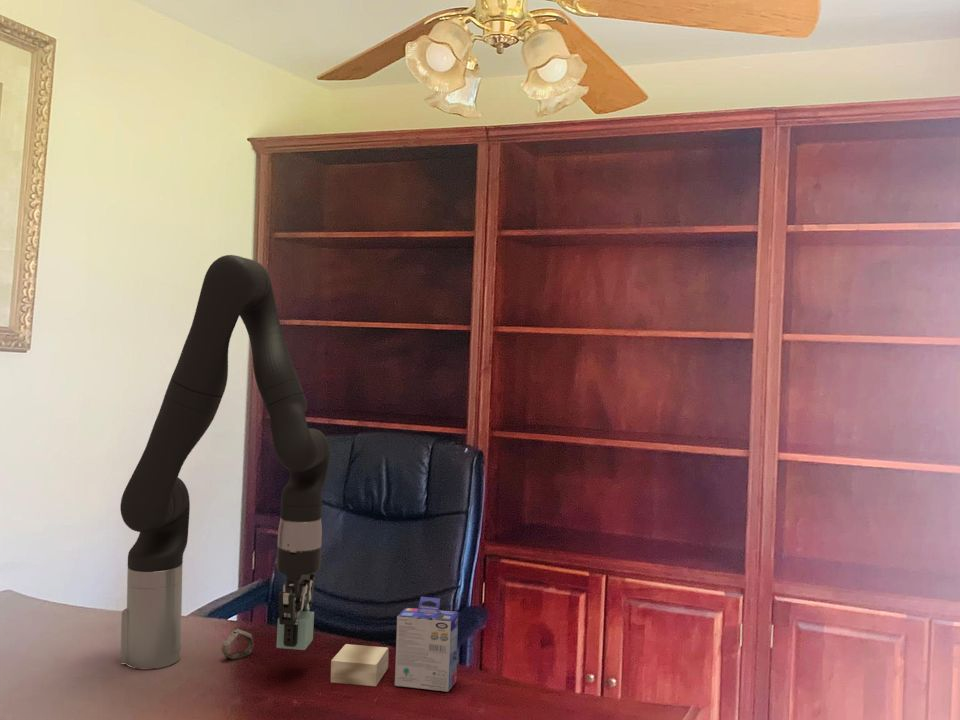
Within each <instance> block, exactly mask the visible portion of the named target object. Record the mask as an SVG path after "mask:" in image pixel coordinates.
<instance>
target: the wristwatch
mask: <svg viewBox="0 0 960 720" xmlns="http://www.w3.org/2000/svg"><path fill="white" fill-rule="evenodd" d="M238 636H240V637H243V638H245V640H246V642H247V643H246V644H247V645H246V646H247V647H246V648H245V650H244V651H242V652H237V651H236V653H229V652H228V651H229V647H230V645H232V643H233V642H234V641H235V640H236V638H237V637H238ZM254 643H255V642H254V637H253V635H252V634H251V633H249V632H247V631H244V630H242V629H239V628H236V629H233V630H232V631H231V633H230V635H229V636H228V638H227V639H226V640H225V641H224V642H223V644H222V647H221V652H222V655H224V656H225V657H226V658H229V659H230V660H238V659H242V658H244V657H247V656H249V655H250V654H251V653H252V651H253V649H254V647H255V645H254Z"/></svg>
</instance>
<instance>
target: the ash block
mask: <svg viewBox="0 0 960 720" xmlns="http://www.w3.org/2000/svg"><path fill="white" fill-rule="evenodd" d="M389 649H390V648H389V647H384V646H376V645H375V646H373V645H361V644H349V643H345V644H344V645H343V646H342V648H341V649H340V650H339V651H338V653H336V654H335V656H334V657H333V658H332V659H331V661H330V683H336V684H347V685H355V686H356V685H357V686H367V687H368V686H369V687H377V685H378V684H379V682H380V681H381V679H382V678H383V677H384V675H385V673H386V672H387V670H388V669H389Z"/></svg>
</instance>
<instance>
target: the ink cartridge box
mask: <svg viewBox="0 0 960 720" xmlns="http://www.w3.org/2000/svg"><path fill="white" fill-rule="evenodd" d="M427 602H432V603H434V604H435V606H432V605H430V606H429V605H423V603H427ZM440 606H441V598H439V597H431V596H430V597H428V596H420V599H419V603H418V607H417V608H413V607H412V608H411V607H406V608H404V609H403V610H402V611H401V612H400V613H399V614H398V615H397V616H396V637H395V638H396V639H395V640H396V641H395V669H394V670H395V671H394V672H395V673H394V686H395V687H402V688H403V687H404V688H411V689H422V690H429V691H438V692H440V691H441V692H446V693H448V692H450V690H451V689H452V688H453V687H454V686H455V684H456V682H457V671H458V669H457V665H458V664H457V663H458V635H459V634H458V632H459V631H458V629H459V625H458V624H459V612H458V611H452V610H450V611H449V610H440Z"/></svg>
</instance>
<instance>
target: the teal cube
mask: <svg viewBox="0 0 960 720" xmlns="http://www.w3.org/2000/svg"><path fill="white" fill-rule="evenodd" d="M288 617H291V615H290V614H289V613H288ZM314 624H315V611H310V610H309V611H301V612H300V614H299V623H298V636H297V645H296V646H295V647H289V646H285V645H284V624H283V625H282V624H280V623H279V617H278V618H277V626H276V627H277V629H276V649H286V650H287V649H288V650H300V651H306V649H307V648H308V647H309V646H310V644H311V643H312V641H313V640H314Z"/></svg>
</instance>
